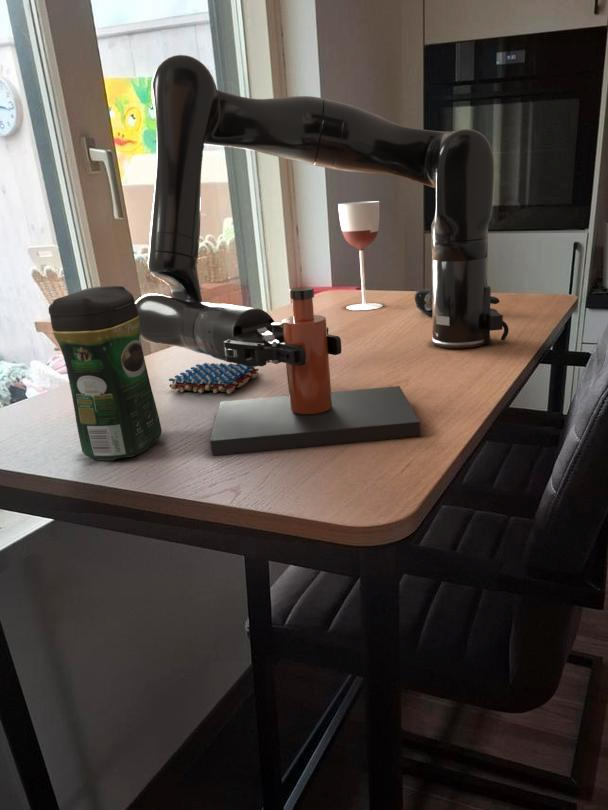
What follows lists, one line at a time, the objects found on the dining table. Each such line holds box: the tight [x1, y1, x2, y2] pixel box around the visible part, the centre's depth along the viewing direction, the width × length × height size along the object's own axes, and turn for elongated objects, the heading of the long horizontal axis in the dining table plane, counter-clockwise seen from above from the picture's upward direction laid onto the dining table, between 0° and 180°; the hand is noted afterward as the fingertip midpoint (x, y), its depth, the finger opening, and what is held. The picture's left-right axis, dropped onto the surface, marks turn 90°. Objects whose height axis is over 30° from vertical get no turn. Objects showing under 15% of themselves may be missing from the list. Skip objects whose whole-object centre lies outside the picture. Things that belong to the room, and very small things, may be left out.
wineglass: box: [337, 200, 384, 311], centre depth 155 cm, size 9×10×22 cm
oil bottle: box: [281, 286, 332, 414], centre depth 84 cm, size 5×5×14 cm
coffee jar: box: [48, 285, 163, 461], centre depth 80 cm, size 10×8×19 cm
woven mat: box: [168, 362, 260, 395], centre depth 107 cm, size 10×11×2 cm
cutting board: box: [209, 385, 421, 456], centre depth 87 cm, size 24×15×2 cm, turn 96°
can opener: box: [414, 288, 501, 317], centre depth 143 cm, size 18×7×6 cm, turn 67°
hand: (321, 351), depth 83 cm, fingers closed on oil bottle, 5 cm apart
